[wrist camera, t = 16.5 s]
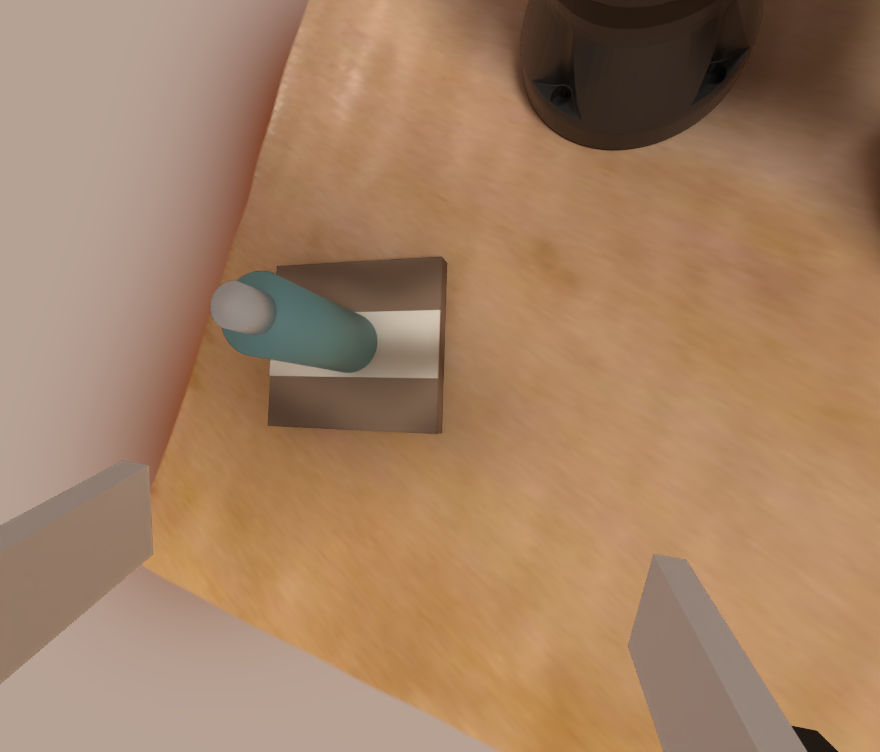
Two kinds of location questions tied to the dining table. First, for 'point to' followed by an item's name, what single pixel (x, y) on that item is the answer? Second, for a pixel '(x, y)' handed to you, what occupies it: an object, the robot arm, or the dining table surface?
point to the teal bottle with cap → (291, 324)
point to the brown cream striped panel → (397, 355)
